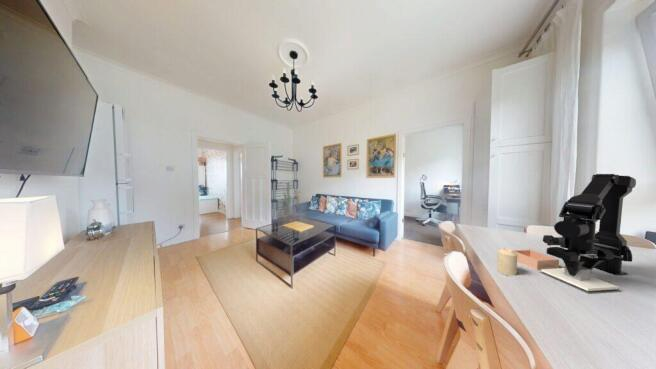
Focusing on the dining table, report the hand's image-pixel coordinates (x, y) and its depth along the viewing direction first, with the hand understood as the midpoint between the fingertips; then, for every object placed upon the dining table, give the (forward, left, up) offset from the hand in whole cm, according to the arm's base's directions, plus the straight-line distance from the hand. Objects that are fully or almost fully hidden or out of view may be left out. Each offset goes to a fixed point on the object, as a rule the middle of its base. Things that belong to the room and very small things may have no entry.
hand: (577, 275), depth 65 cm
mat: (0, 0, -3) cm, 3 cm away
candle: (+19, -8, -3) cm, 21 cm away
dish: (0, -13, -3) cm, 13 cm away
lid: (0, 0, -2) cm, 2 cm away
